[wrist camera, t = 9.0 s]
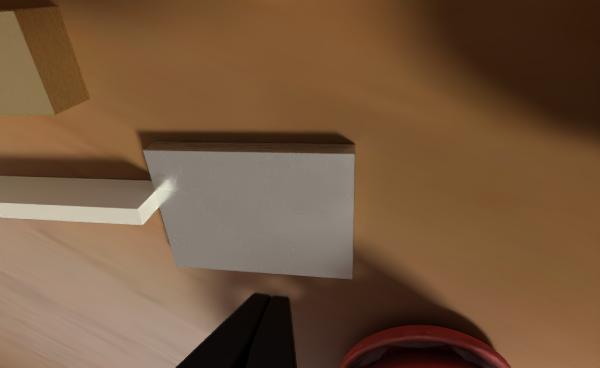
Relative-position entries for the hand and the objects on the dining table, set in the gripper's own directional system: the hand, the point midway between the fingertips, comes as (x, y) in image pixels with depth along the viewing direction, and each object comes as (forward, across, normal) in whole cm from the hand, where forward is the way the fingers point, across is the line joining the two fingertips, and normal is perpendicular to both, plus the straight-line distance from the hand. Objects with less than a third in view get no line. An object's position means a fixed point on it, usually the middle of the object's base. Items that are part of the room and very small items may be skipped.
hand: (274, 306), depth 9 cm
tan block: (+11, +15, -4) cm, 19 cm away
